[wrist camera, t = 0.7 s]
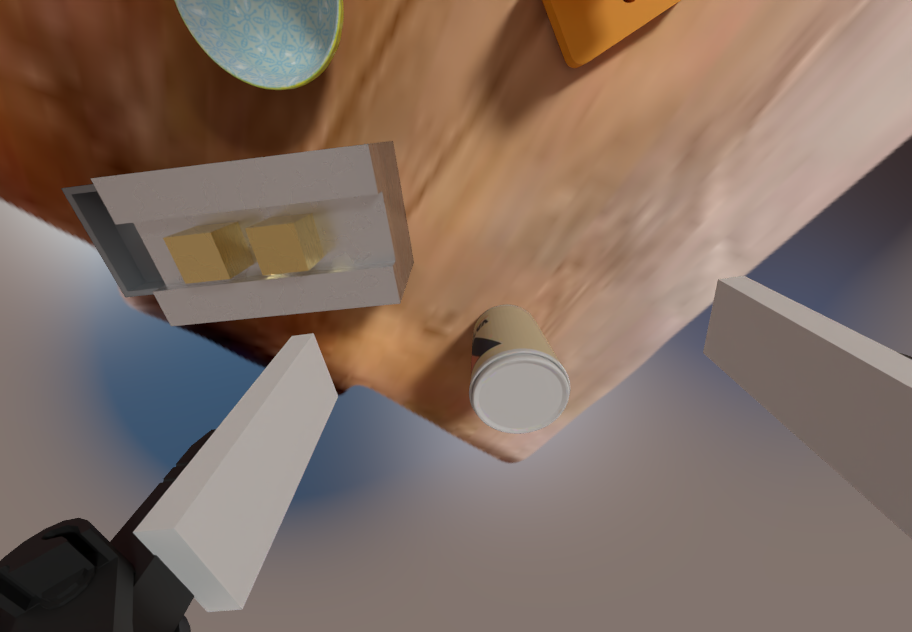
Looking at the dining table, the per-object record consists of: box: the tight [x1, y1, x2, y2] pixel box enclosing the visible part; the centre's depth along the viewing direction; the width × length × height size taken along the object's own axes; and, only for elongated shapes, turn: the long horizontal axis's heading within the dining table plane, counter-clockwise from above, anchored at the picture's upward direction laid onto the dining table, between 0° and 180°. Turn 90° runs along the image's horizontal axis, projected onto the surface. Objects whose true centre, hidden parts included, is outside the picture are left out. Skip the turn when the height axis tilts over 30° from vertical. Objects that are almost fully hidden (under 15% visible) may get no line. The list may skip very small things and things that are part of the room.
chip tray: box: [61, 184, 166, 297], centre depth 36 cm, size 11×12×3 cm
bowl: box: [174, 0, 344, 90], centre depth 26 cm, size 11×12×6 cm
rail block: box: [90, 141, 414, 326], centre depth 32 cm, size 12×20×10 cm, turn 96°
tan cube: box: [245, 213, 324, 276], centre depth 27 cm, size 4×4×4 cm
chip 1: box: [163, 221, 254, 284], centre depth 27 cm, size 4×4×4 cm
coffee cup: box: [469, 305, 570, 434], centre depth 38 cm, size 9×9×12 cm
